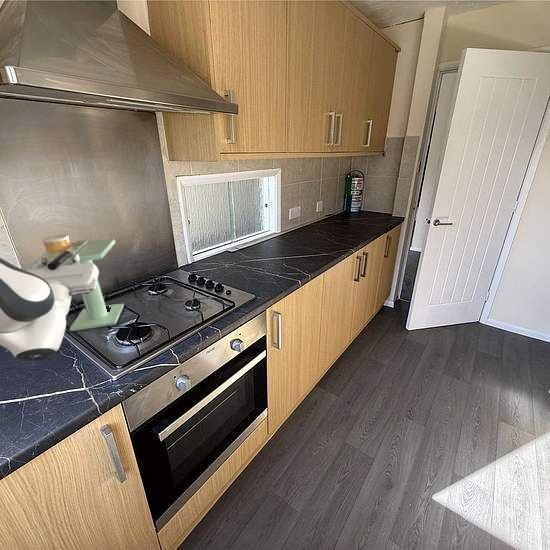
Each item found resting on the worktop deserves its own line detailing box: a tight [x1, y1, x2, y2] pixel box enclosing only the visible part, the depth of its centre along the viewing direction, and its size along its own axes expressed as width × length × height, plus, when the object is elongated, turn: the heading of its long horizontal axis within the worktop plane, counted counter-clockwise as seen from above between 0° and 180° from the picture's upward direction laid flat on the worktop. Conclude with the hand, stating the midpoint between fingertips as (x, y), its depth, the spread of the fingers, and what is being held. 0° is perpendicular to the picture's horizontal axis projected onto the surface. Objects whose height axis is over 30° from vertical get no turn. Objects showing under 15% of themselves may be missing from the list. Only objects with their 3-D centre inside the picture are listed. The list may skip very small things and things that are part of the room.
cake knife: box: [46, 239, 89, 270], centre depth 89 cm, size 25×3×2 cm, turn 15°
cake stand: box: [32, 233, 125, 332], centre depth 99 cm, size 18×18×30 cm
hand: (60, 257), depth 83 cm, fingers open, 6 cm apart
